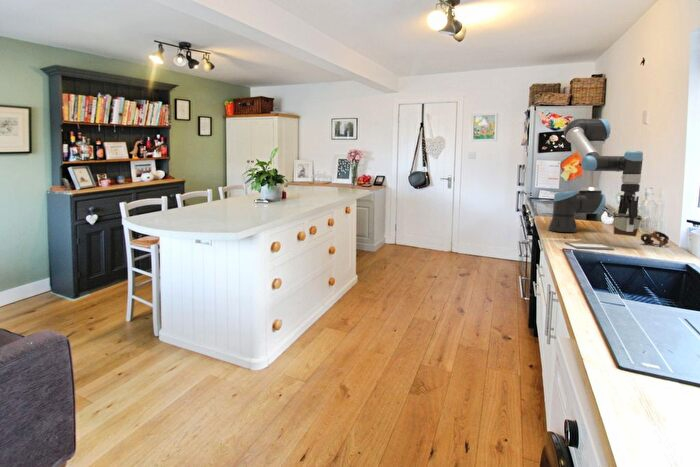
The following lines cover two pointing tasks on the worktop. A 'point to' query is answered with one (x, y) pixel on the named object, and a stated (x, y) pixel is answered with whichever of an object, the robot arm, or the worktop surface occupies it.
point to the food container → (625, 224)
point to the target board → (589, 246)
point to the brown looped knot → (655, 236)
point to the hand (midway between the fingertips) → (625, 230)
